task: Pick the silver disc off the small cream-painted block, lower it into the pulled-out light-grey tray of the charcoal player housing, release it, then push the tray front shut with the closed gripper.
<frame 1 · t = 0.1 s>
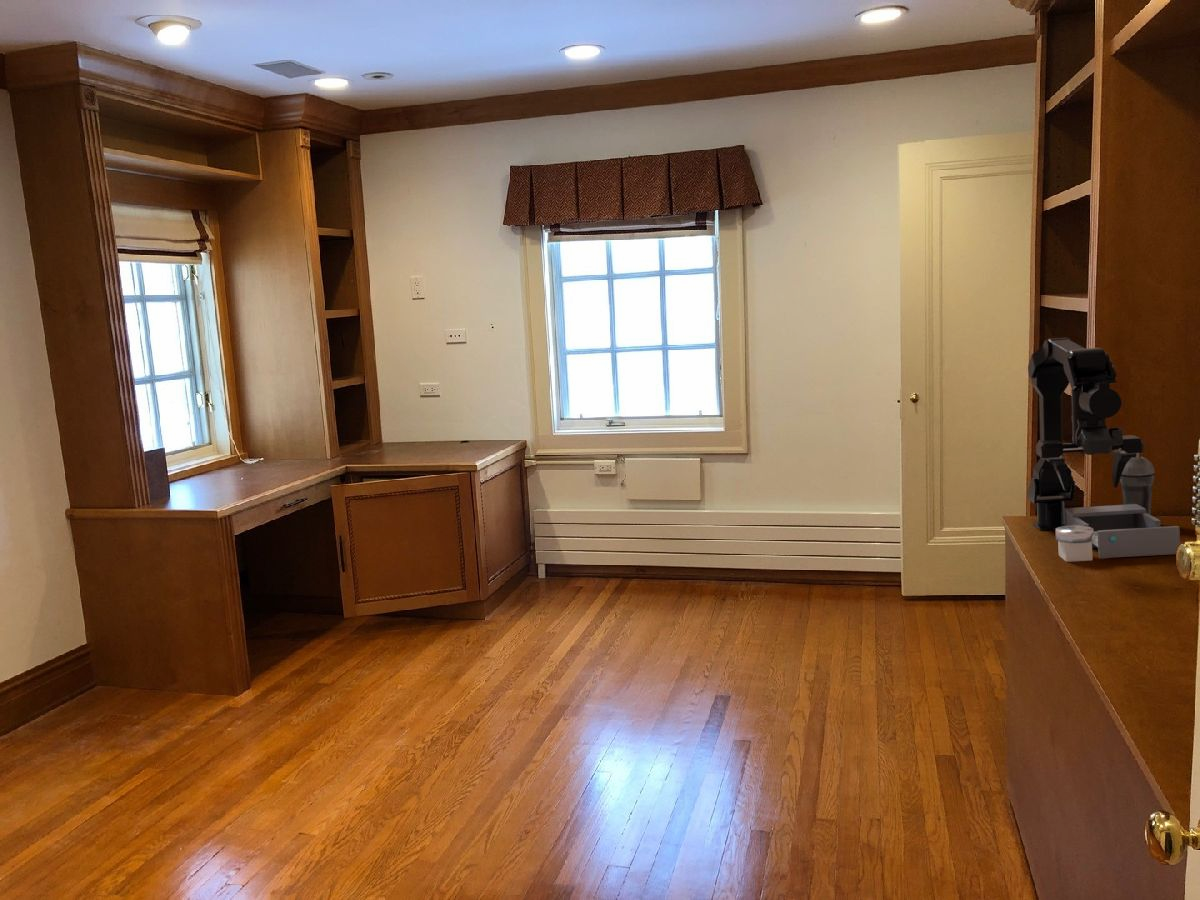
hand: (1090, 488, 197), 14 cm above the cabinet, fingers open, 9 cm apart
disc: (1074, 538, 200), point 4 cm above the cabinet, touching block
beverage cup: (1137, 524, 222), on the cabinet
block: (1075, 557, 201), on the cabinet
housing: (1111, 538, 212), on the cabinet
tray: (1127, 535, 203), point 3 cm above the cabinet, slide at 8.0 cm
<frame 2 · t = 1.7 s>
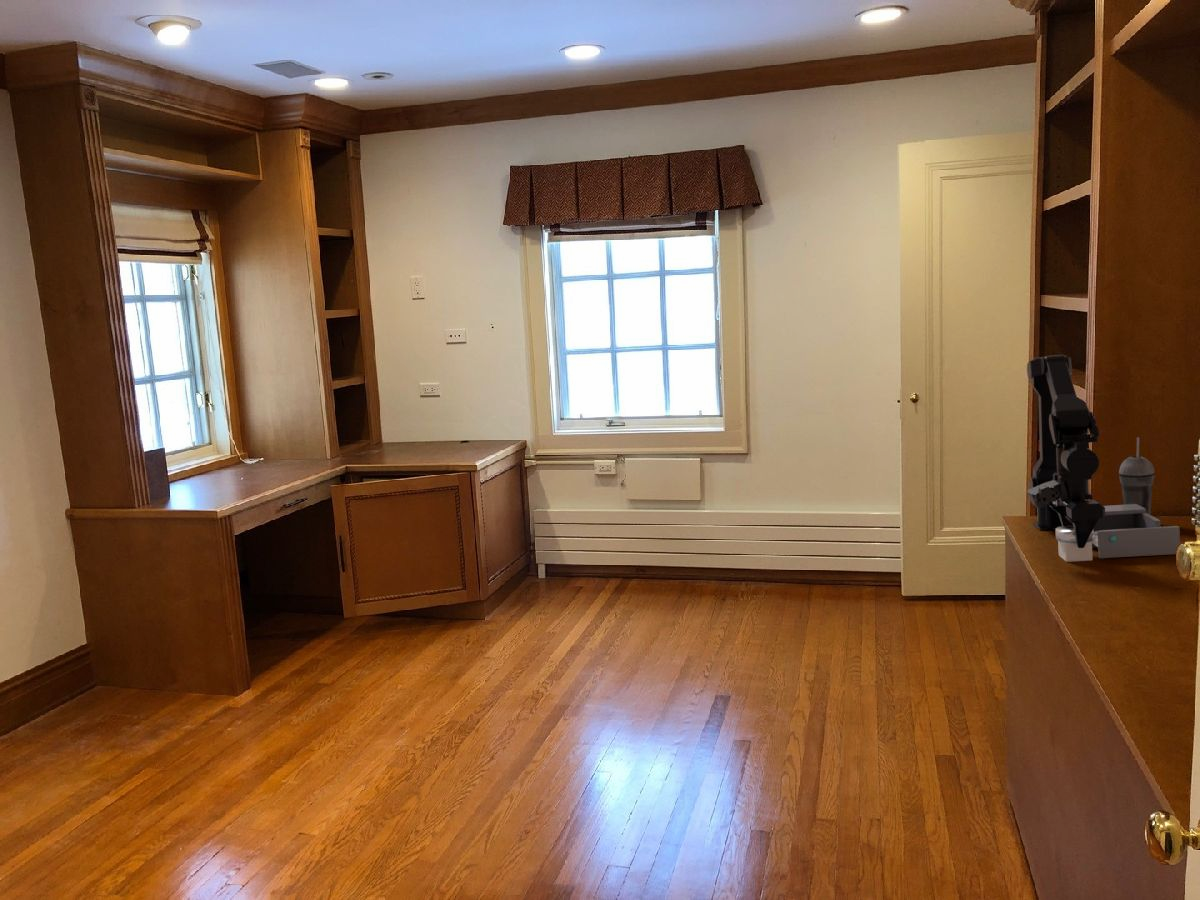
hand: (1074, 543, 201), 3 cm above the cabinet, fingers closed on disc, 7 cm apart
disc: (1074, 538, 200), point 4 cm above the cabinet, touching block, gripper
everything else where it was.
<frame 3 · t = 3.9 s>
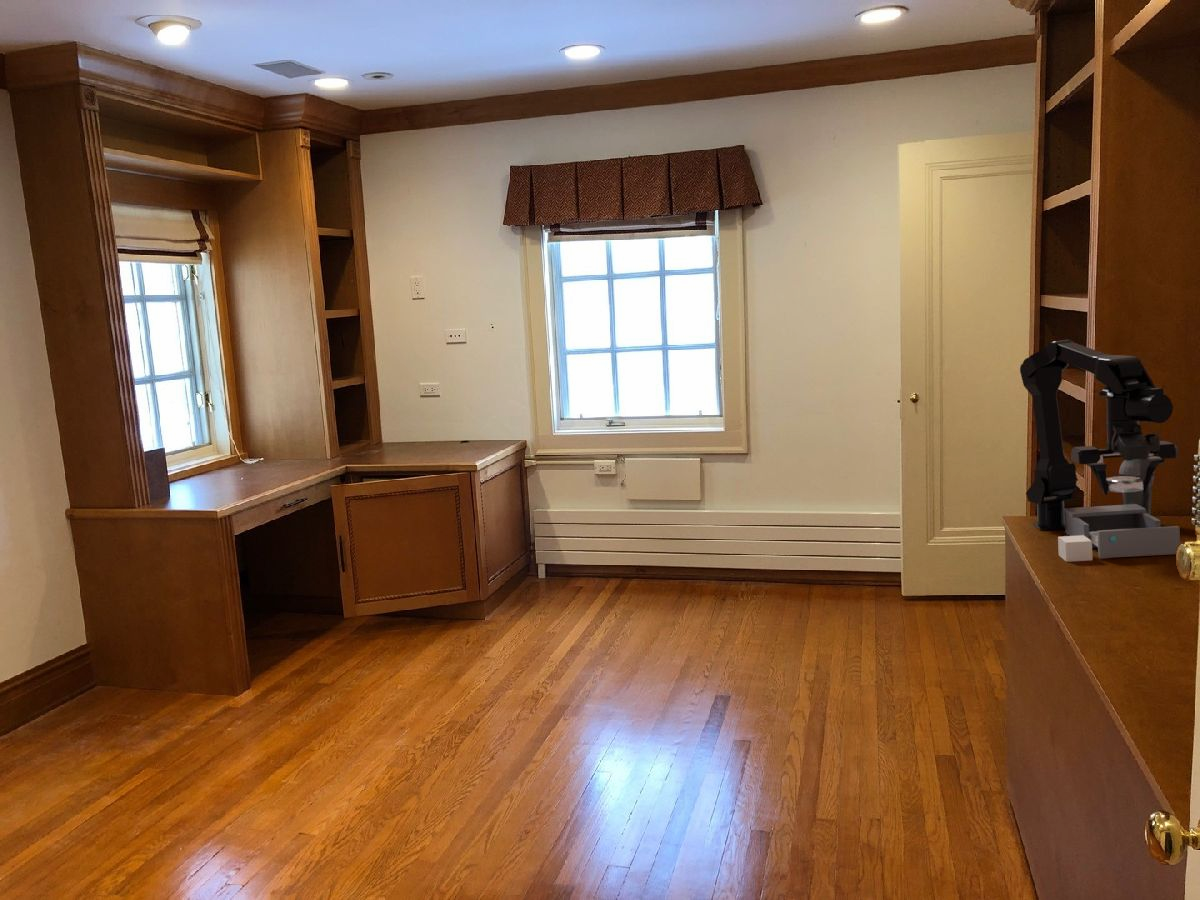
hand: (1124, 493, 202), 12 cm above the cabinet, fingers closed on disc, 7 cm apart
disc: (1124, 488, 202), point 13 cm above the cabinet, touching gripper
everything else where it was.
when the fingers open (3 cm above the cabinet, at t = 5.9 s): disc drops 3 cm, resting on tray.
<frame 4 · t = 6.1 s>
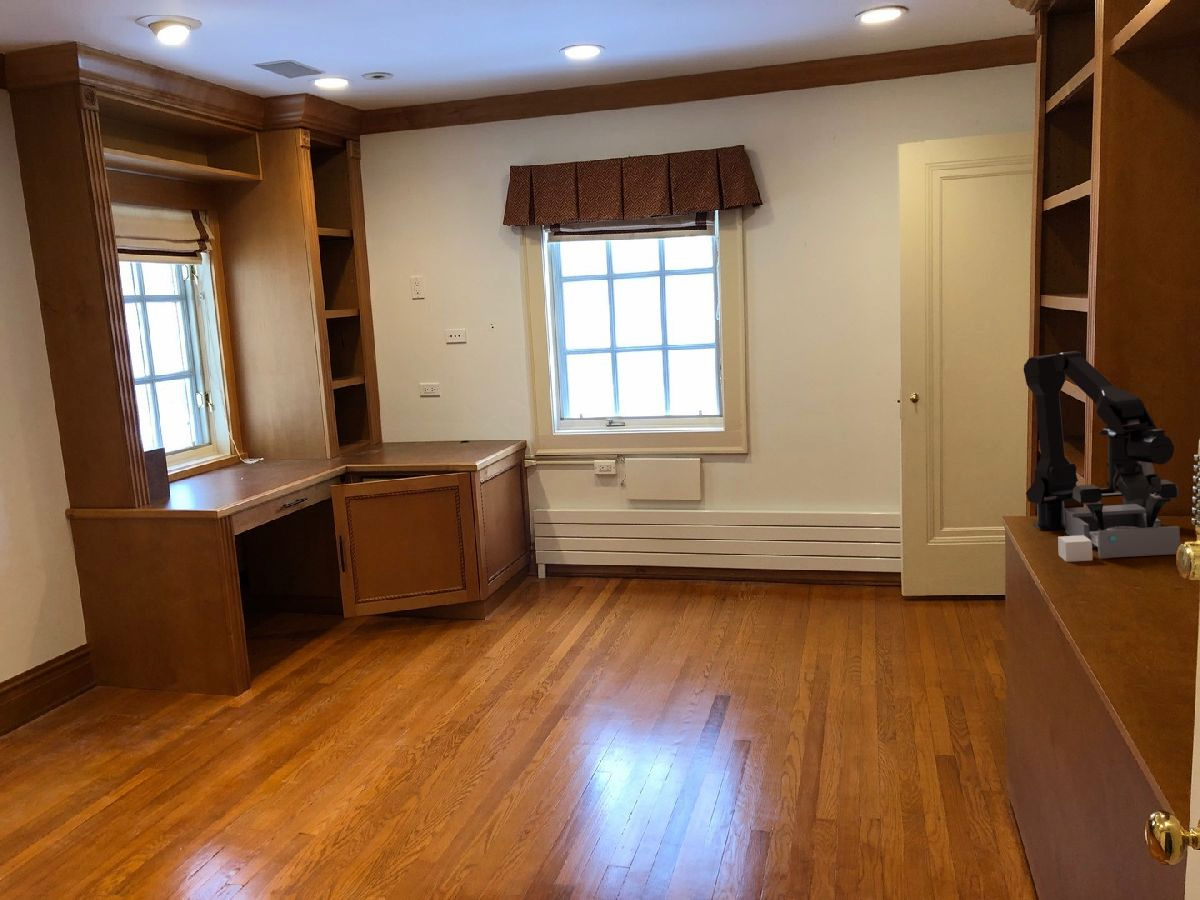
hand: (1125, 532, 204), 3 cm above the cabinet, fingers open, 9 cm apart
disc: (1125, 539, 204), point 2 cm above the cabinet, touching tray
tray: (1127, 535, 203), point 3 cm above the cabinet, slide at 8.0 cm, touching disc
everything else where it was.
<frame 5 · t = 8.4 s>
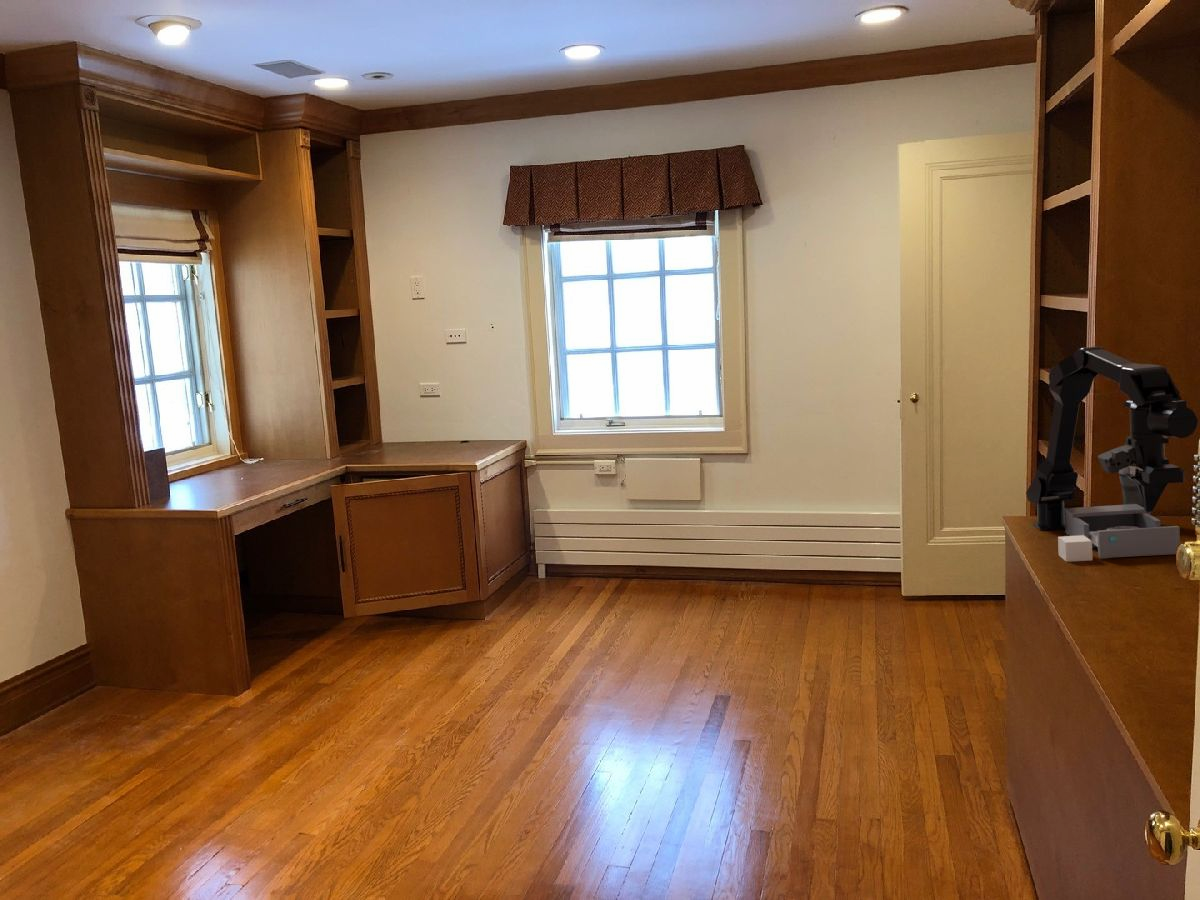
hand: (1148, 511, 190), 11 cm above the cabinet, fingers closed
nothing on the cabinet moved.
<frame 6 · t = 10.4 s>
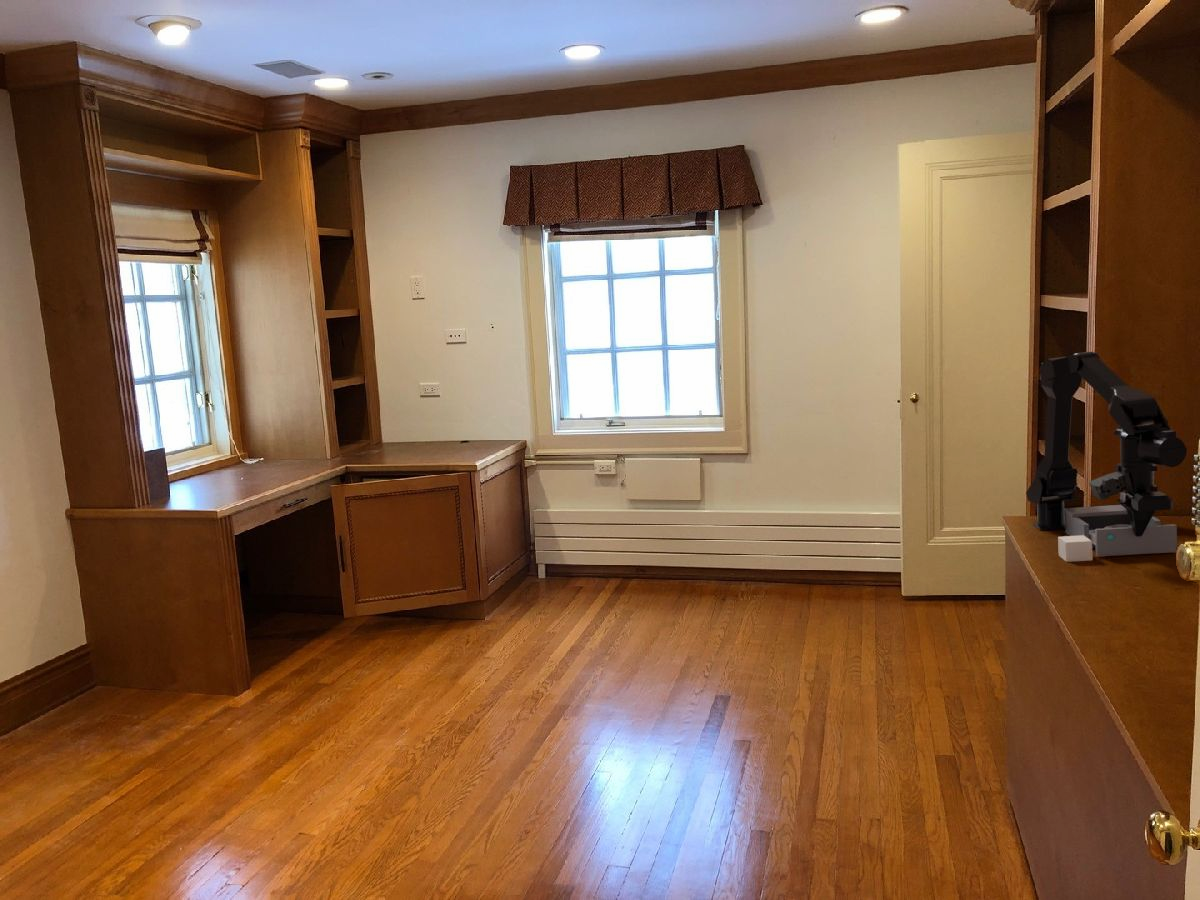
hand: (1138, 536, 197), 4 cm above the cabinet, fingers closed
disc: (1123, 537, 205), point 2 cm above the cabinet, touching tray
tray: (1125, 533, 204), point 3 cm above the cabinet, slide at 6.6 cm, touching disc, gripper
everything else where it was.
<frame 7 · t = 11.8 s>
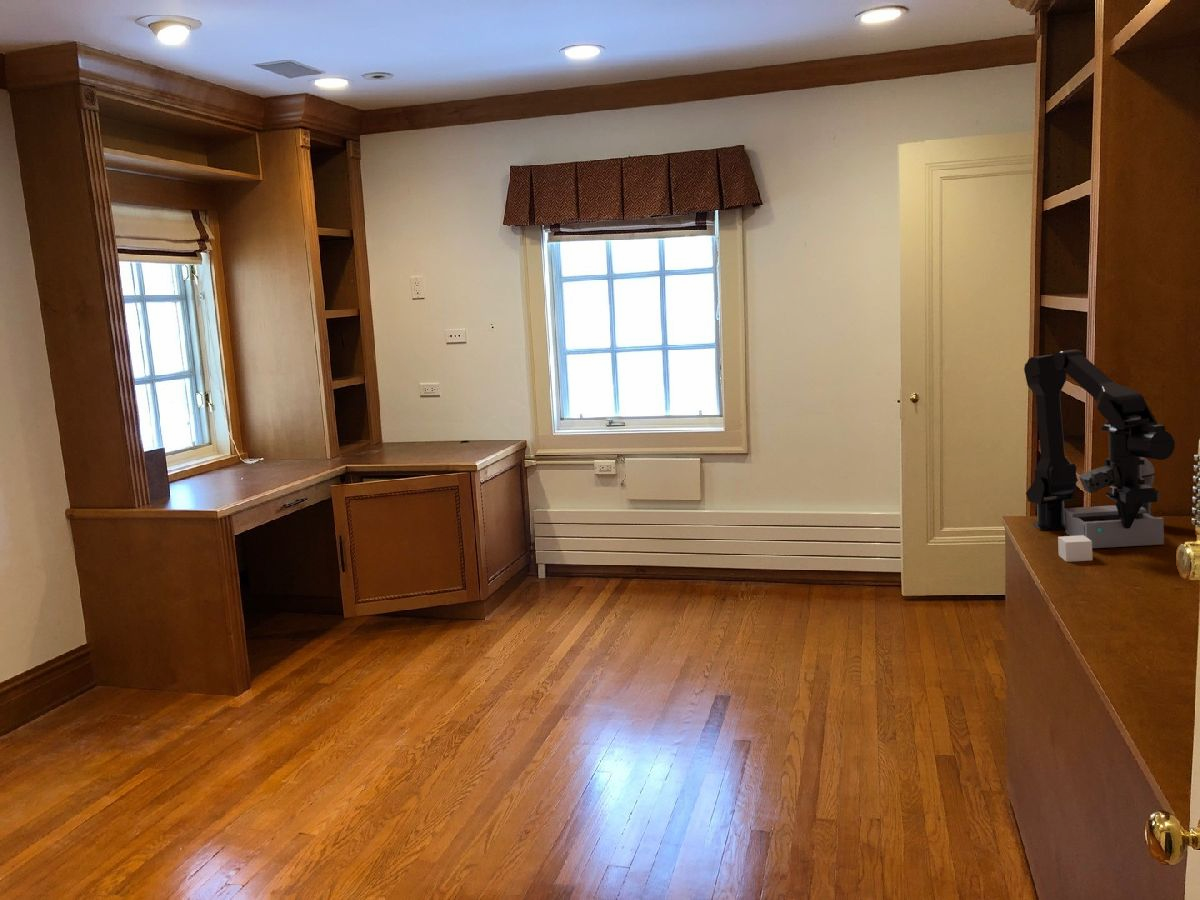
hand: (1126, 528, 203), 4 cm above the cabinet, fingers closed
disc: (1112, 530, 211), point 2 cm above the cabinet, touching tray
tray: (1114, 526, 210), point 3 cm above the cabinet, slide at 0.2 cm, touching disc, gripper
everything else where it was.
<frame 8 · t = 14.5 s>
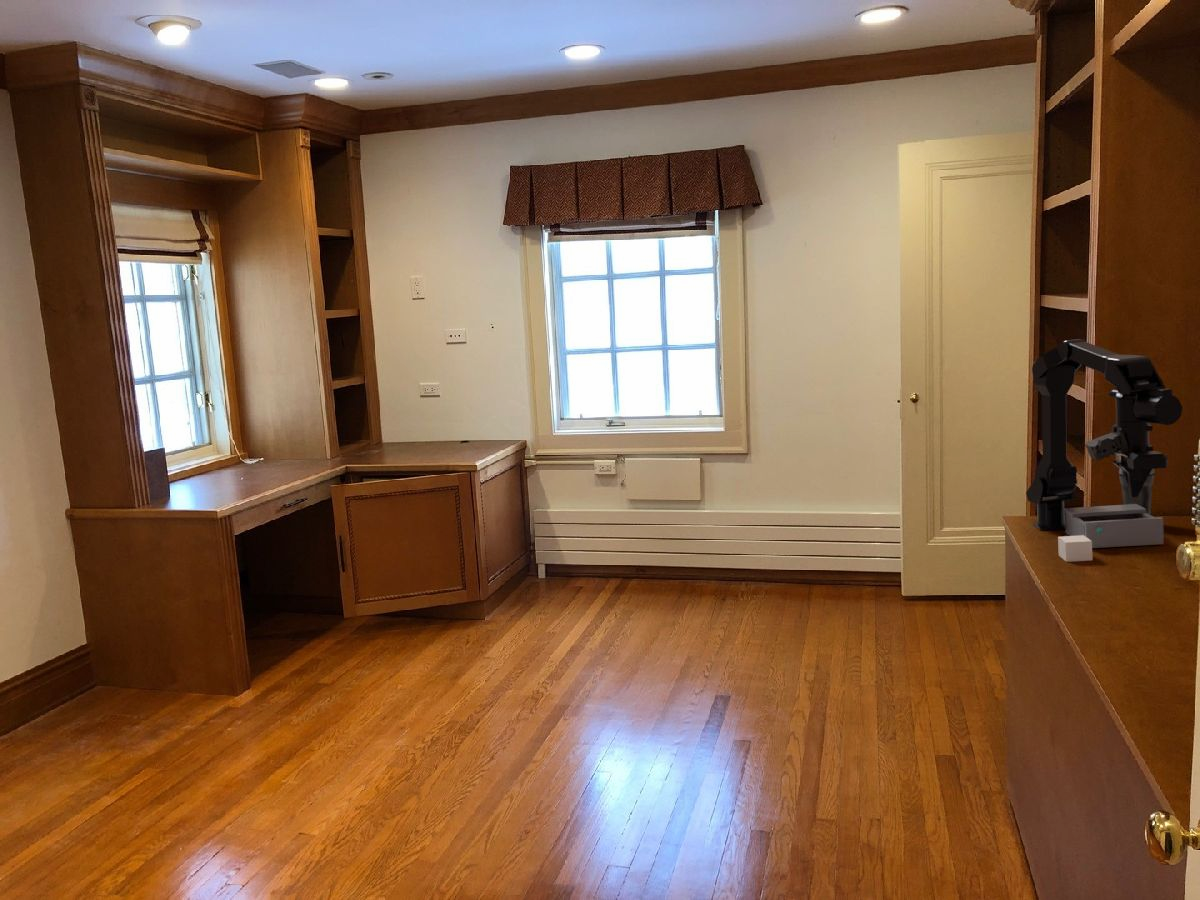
hand: (1134, 496, 197), 12 cm above the cabinet, fingers closed
tray: (1113, 526, 210), point 3 cm above the cabinet, slide at 0.1 cm, touching disc
everything else where it was.
at the end: tray slide at 0.1 cm; disc inside the target area on the housing (0.3 cm from its centre), point 1.9 cm above the housing's base; disc tilted 0° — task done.
